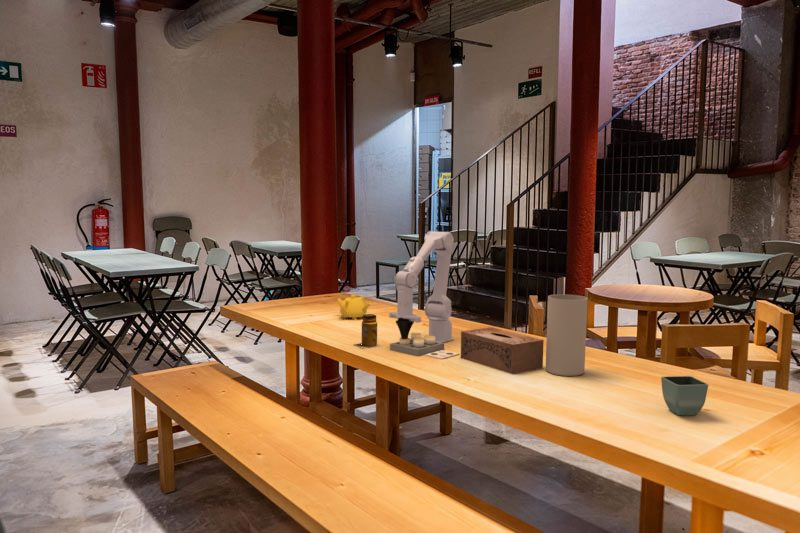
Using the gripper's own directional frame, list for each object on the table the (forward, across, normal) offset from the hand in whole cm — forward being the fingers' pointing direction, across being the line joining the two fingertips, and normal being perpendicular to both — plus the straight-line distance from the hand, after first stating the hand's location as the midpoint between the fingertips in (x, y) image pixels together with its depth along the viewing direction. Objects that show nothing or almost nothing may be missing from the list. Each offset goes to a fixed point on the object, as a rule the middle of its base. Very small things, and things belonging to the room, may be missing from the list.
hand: (404, 338), depth 239 cm
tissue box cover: (+5, +37, +9) cm, 38 cm away
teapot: (+4, -62, +32) cm, 70 cm away
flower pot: (+4, +102, -2) cm, 102 cm away
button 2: (+2, 0, +7) cm, 7 cm away
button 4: (+2, +7, +7) cm, 10 cm away
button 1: (+3, 0, 0) cm, 3 cm away
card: (+4, +16, +3) cm, 16 cm away
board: (+4, +4, +3) cm, 6 cm away
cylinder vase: (+4, +59, +14) cm, 61 cm away
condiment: (+4, -15, -5) cm, 16 cm away
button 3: (+2, +7, 0) cm, 7 cm away
